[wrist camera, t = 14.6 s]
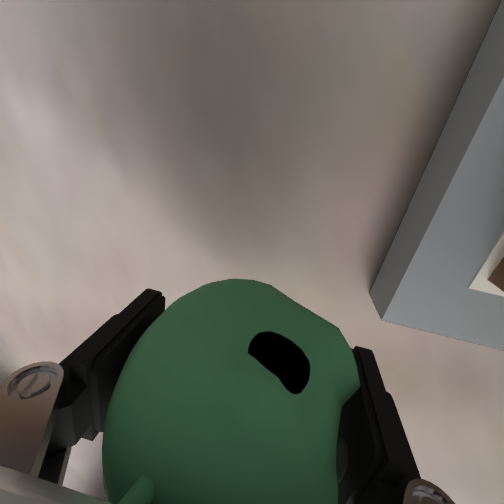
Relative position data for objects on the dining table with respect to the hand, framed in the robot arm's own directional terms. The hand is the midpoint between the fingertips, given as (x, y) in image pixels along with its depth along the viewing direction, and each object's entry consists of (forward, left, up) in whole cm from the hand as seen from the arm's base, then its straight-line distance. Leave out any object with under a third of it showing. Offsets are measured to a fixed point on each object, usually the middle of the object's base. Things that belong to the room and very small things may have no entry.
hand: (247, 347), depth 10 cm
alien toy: (0, 0, -3) cm, 3 cm away
